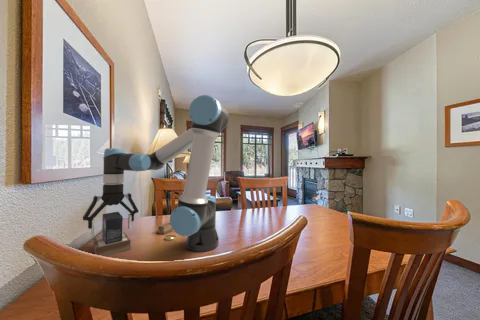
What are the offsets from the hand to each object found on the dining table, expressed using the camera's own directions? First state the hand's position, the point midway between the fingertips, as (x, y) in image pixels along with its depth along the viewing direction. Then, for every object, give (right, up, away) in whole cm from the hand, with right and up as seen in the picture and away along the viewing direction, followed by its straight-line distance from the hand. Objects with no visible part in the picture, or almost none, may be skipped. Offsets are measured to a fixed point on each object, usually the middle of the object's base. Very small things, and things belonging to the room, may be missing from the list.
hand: (112, 232), depth 83 cm
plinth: (0, -7, 0) cm, 7 cm away
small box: (0, -3, 0) cm, 3 cm away
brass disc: (+21, -8, +12) cm, 26 cm away
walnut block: (+15, -8, +20) cm, 27 cm away
